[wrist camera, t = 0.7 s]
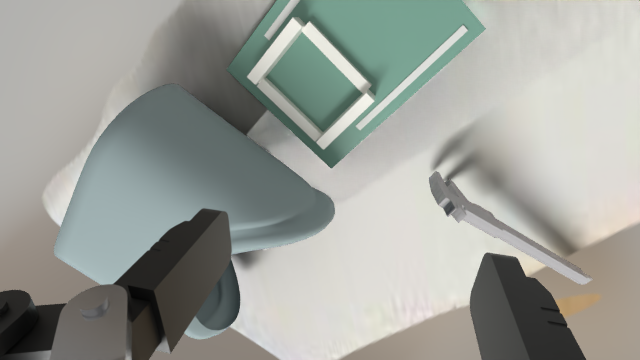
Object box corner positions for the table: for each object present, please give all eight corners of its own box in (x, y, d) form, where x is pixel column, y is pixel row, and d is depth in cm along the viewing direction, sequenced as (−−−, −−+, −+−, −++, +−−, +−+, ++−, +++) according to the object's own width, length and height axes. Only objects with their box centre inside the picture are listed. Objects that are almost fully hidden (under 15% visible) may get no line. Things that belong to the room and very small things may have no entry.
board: (363, -112, 25) (360, -128, 22) (482, 28, 28) (492, 29, 25) (231, 67, 33) (216, 73, 30) (333, 163, 36) (328, 177, 33)
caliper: (427, 176, 34) (433, 208, 28) (434, 168, 33) (442, 199, 28) (582, 281, 36) (616, 331, 30) (591, 275, 35) (627, 325, 30)
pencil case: (199, 72, 34) (104, 103, 23) (346, 184, 37) (326, 261, 25) (129, 209, 44) (40, 277, 33) (248, 289, 47) (203, 378, 35)
